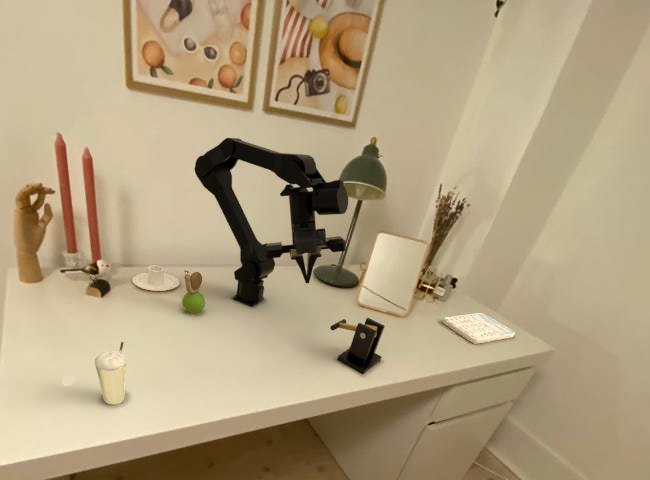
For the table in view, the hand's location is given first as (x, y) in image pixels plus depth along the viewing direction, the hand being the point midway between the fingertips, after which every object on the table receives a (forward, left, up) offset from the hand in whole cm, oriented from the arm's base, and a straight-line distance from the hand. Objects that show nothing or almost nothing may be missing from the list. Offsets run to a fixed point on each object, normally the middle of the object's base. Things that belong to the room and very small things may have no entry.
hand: (307, 283), depth 93 cm
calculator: (+44, +38, -11) cm, 59 cm away
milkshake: (-13, -49, -11) cm, 52 cm away
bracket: (+19, -6, -11) cm, 23 cm away
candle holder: (-40, -10, -11) cm, 42 cm away
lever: (+16, -6, -5) cm, 18 cm away
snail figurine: (-23, -16, -11) cm, 30 cm away
